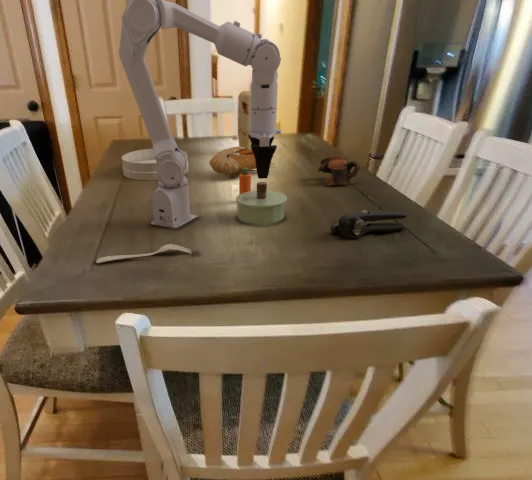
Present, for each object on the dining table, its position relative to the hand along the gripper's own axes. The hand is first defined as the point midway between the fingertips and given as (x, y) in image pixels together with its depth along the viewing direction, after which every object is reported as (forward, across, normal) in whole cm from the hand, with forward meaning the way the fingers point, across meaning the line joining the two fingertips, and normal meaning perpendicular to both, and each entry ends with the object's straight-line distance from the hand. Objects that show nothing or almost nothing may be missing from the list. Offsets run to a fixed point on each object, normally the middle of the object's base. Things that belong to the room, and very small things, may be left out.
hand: (261, 173), depth 109 cm
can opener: (+11, -13, -24) cm, 29 cm away
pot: (+10, 0, 0) cm, 10 cm away
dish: (+11, +49, +33) cm, 60 cm away
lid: (+6, 0, 0) cm, 6 cm away
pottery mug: (+11, +30, -24) cm, 40 cm away
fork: (+11, -24, +25) cm, 36 cm away
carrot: (+10, +12, +4) cm, 16 cm away
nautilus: (+11, +41, +4) cm, 43 cm away
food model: (+11, +73, +2) cm, 73 cm away
